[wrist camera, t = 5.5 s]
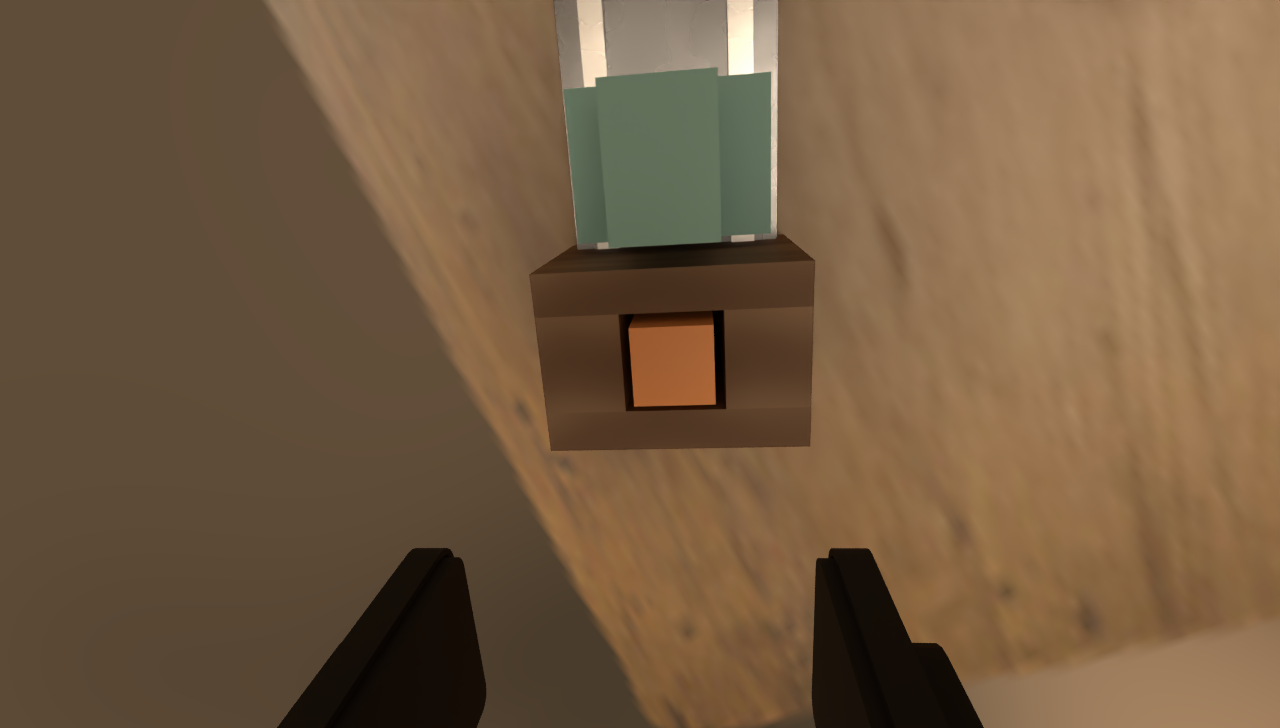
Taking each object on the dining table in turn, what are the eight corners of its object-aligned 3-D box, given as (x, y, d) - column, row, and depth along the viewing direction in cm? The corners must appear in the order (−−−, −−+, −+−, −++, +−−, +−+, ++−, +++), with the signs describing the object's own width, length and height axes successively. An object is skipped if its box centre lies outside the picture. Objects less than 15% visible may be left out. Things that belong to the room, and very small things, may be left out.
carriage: (571, 93, 25) (520, 65, 18) (766, 77, 24) (795, 41, 17) (584, 239, 27) (543, 267, 20) (766, 229, 26) (792, 254, 19)
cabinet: (573, 245, 29) (529, 274, 22) (783, 234, 28) (814, 260, 20) (586, 381, 31) (550, 450, 24) (782, 375, 30) (810, 446, 23)
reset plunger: (646, 285, 29) (628, 328, 21) (709, 282, 29) (713, 325, 21) (650, 345, 30) (634, 406, 22) (711, 342, 29) (715, 404, 22)
